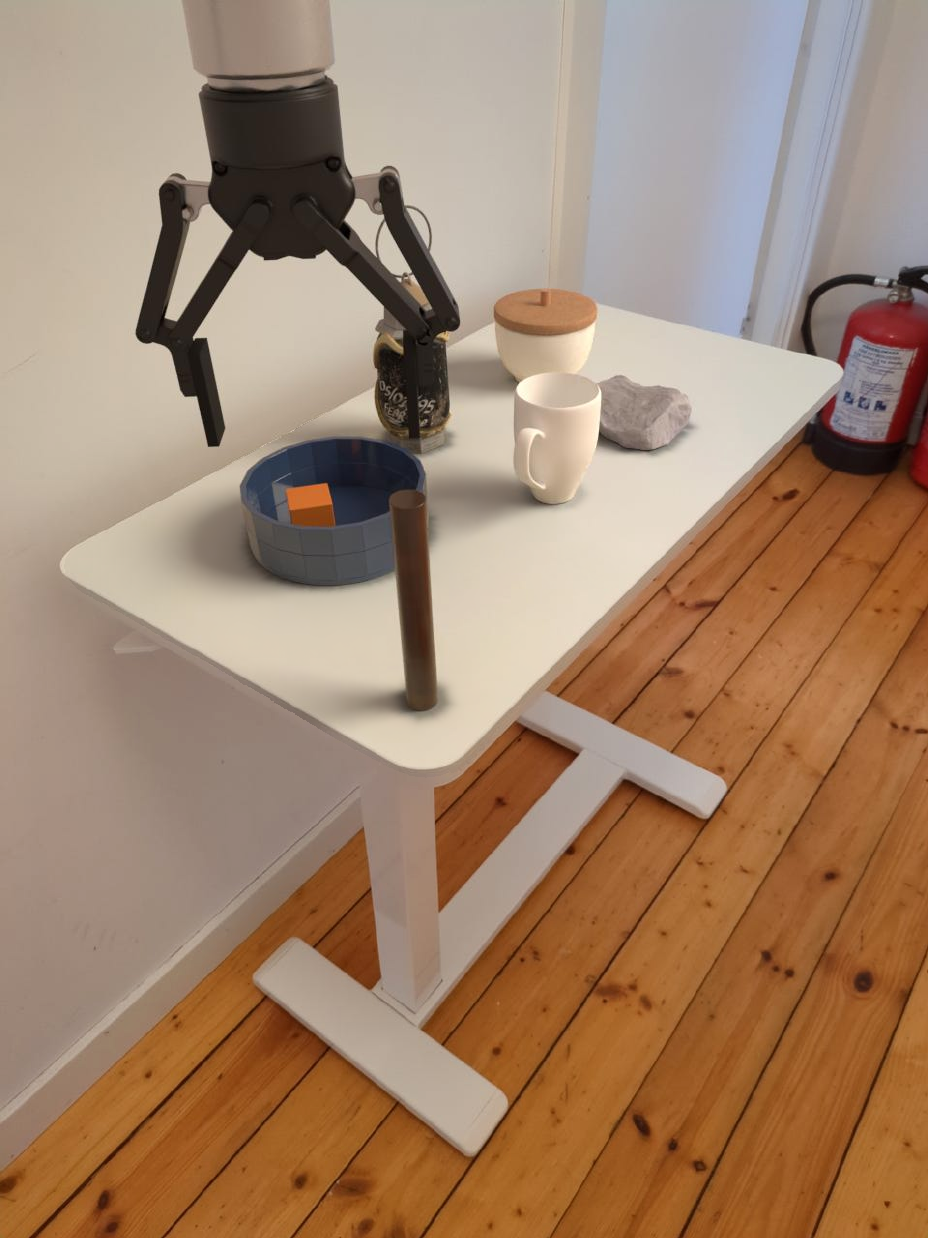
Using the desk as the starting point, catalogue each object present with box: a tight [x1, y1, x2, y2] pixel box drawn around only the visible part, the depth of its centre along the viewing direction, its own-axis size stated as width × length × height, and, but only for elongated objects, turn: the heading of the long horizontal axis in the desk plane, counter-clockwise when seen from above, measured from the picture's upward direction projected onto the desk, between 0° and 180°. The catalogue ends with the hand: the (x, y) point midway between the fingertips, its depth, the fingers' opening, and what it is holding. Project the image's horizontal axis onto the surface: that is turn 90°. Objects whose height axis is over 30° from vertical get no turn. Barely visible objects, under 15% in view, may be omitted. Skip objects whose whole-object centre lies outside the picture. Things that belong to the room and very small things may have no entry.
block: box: [286, 483, 335, 527], centre depth 85 cm, size 4×4×4 cm
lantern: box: [372, 204, 452, 454], centre depth 94 cm, size 9×8×25 cm
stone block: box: [596, 374, 692, 451], centre depth 103 cm, size 12×5×10 cm
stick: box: [389, 490, 439, 712], centre depth 63 cm, size 2×2×18 cm
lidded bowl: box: [493, 287, 598, 384], centre depth 111 cm, size 13×13×11 cm
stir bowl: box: [239, 435, 430, 586], centre depth 86 cm, size 17×17×6 cm
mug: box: [513, 372, 601, 505], centre depth 87 cm, size 12×8×11 cm
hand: (316, 433), depth 62 cm, fingers open, 13 cm apart
